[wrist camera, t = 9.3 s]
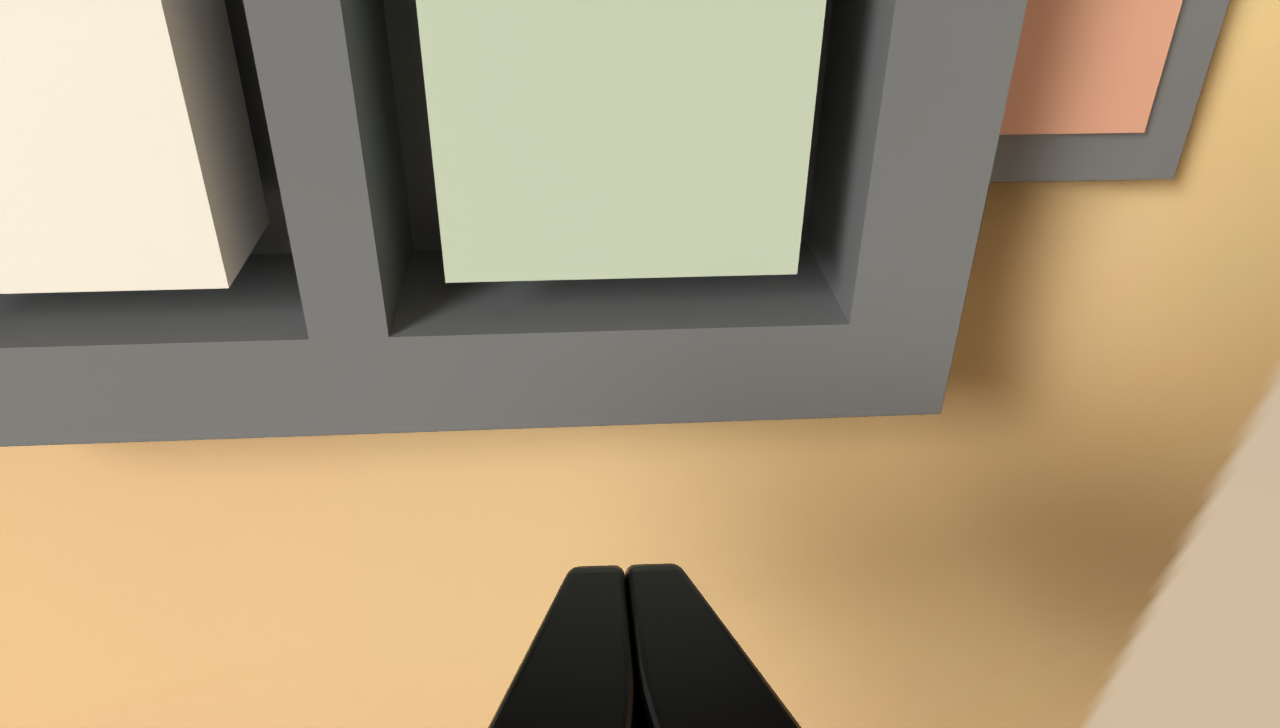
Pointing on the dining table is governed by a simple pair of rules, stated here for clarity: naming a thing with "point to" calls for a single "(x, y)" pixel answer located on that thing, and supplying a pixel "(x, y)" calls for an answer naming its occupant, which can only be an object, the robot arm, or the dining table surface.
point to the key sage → (620, 135)
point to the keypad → (605, 308)
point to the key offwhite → (123, 148)
